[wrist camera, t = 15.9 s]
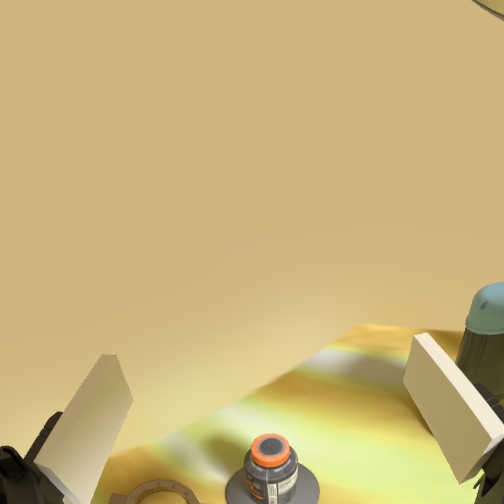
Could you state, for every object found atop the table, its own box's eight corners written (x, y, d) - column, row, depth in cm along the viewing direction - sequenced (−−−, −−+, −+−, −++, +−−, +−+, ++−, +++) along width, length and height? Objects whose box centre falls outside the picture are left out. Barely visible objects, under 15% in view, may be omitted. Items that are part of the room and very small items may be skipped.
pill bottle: (244, 480, 32) (235, 433, 28) (286, 469, 33) (287, 420, 30) (257, 514, 26) (249, 474, 23) (302, 500, 28) (308, 457, 24)
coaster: (313, 456, 35) (313, 454, 35) (324, 523, 24) (325, 522, 24) (229, 461, 36) (228, 459, 35) (224, 530, 24) (224, 529, 24)
